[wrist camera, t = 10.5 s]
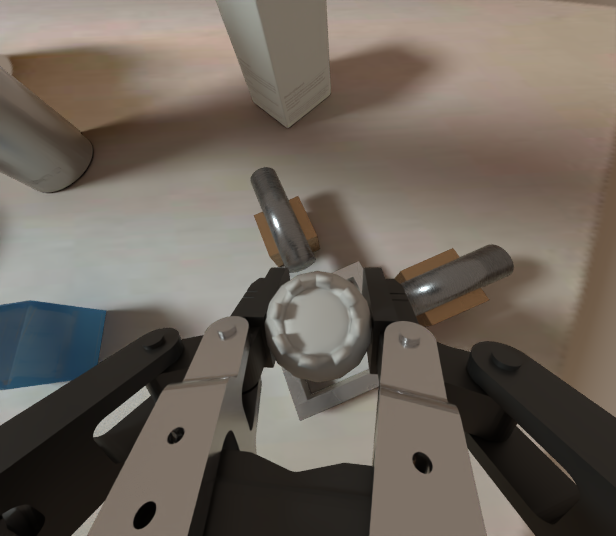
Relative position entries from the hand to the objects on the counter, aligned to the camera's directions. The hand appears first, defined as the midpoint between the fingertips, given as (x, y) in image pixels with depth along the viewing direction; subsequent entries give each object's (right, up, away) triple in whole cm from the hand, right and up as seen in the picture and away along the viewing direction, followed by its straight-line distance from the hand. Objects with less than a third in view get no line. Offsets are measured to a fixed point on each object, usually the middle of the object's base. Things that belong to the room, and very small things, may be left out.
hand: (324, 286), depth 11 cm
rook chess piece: (0, -3, +3) cm, 5 cm away
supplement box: (-3, +22, +19) cm, 29 cm away
